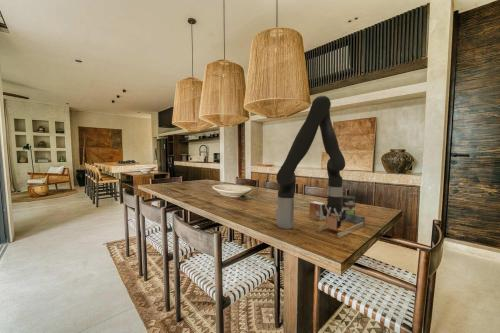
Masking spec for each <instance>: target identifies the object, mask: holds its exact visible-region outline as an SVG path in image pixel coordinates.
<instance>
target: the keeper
mask: <svg viewBox="0 0 500 333" xmlns="http://www.w3.org/2000/svg"><path fill="white" fill-rule="evenodd" d="M326 221H327V223H326V224H327V229H331V230H335V231H336V230H338V229H341V227H339V228H337V221H338V220H337V217H336V215H335V214H331V215H330V216H327V218H326Z"/></svg>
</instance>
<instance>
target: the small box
mask: <svg viewBox="0 0 500 333" xmlns="http://www.w3.org/2000/svg"><path fill="white" fill-rule="evenodd" d="M322 205H326V203H325V202H319V201H315V200H314V201H310V202H309V212H308V213H309V214H308V216H309V217H308V218H309V219H312V220H316V221H324V220H325V218H326V216H323V211H322Z"/></svg>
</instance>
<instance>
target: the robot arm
mask: <svg viewBox="0 0 500 333" xmlns="http://www.w3.org/2000/svg"><path fill="white" fill-rule="evenodd" d="M331 105H332V102H331V100H330V98H329V97H328V96H326V95H318V96H316V97H315V98H314V99H313V100H312V103H311V106H310V108H309V111H308V114H307V116H306V119H305V121H304V122H303V124H302V125H301V127H300V129H299V130H298V132H297V134H296V136H295V138H294V140H293V142H292V143H291V146H290V149H289V151H288V153H287V155H286V158H285V160H284V162H283V163H282V165H281V167H280V168H279V169H278V171H277V173H276V176H275V177H276V179H275V180H276V182H277V184H278V185H279V189H278V191H277V208H276V213H275V214H276V215H275V216H276V217H275V220H276V221H275V222H276V223H275V225H276V226H277V227H278V228H280V229H284V230H289V229H292V228H294V226H295V224H294V223H295V218H294V217H295V192H296V183H297V182H296V180H297V179H296V178H297V177H296V173H295V172H296V169H297V167H299V166H298V165H299V164H300V162H301V161H302V160H303V159H304V157H305V156H306V155H307V154H308V152H309V150H310V148H311V146H312V144H313V143H314V139H315V137H316V135H317V132H318V129H319V131H320V134H321V139H322V144H323V148H324V151H325V154H327V155H328V156H329V159H328V160H327V162H326V171H327V177H328V179H327V191H326V193H327V195H326V196H327V197H326V204H325V205H322V211H323V216H325V218H326V219H327V216H330V215H335V216H336V217H337V220H338V221H337V228H339V227H340V228H341V227H342V223H341V221H343V220H345V219H346V215H347V212H348V210H347V209H346V210H345V209H343V208H342V195H344V194H343V177H342V176H341V171H344V169H345V167H346V160H345V157H344V155H343V153H342V151H341V149H340V145H339V142H338V141H339V140H338V138H337V135H336V132H335V129H334V127H333V124H332V119H331V114H330V113H331V112H330V110H331ZM341 210H342V213H343V214H342V217H341V212H340V211H341ZM326 224H327V220H326ZM340 228H339V229H340Z"/></svg>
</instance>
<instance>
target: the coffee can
mask: <svg viewBox="0 0 500 333" xmlns="http://www.w3.org/2000/svg"><path fill="white" fill-rule="evenodd" d="M356 198H357V197H356V196H354V195H348V194H346V195H345V194H343V195H342V208H343V209H345V210H346V209H347V210H348V212H347V213H349V214H354V215H356ZM340 212H341V217H342V214H343V213H342V210H341V211H340Z"/></svg>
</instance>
